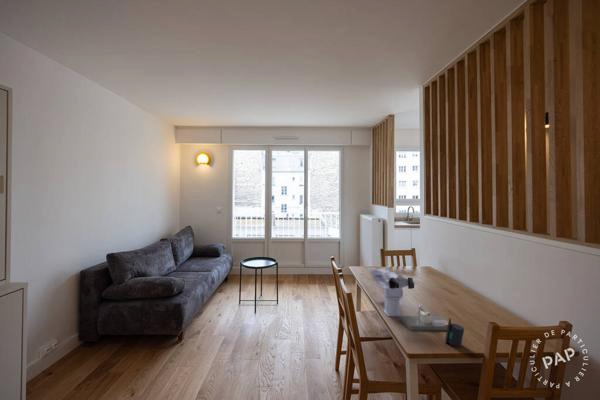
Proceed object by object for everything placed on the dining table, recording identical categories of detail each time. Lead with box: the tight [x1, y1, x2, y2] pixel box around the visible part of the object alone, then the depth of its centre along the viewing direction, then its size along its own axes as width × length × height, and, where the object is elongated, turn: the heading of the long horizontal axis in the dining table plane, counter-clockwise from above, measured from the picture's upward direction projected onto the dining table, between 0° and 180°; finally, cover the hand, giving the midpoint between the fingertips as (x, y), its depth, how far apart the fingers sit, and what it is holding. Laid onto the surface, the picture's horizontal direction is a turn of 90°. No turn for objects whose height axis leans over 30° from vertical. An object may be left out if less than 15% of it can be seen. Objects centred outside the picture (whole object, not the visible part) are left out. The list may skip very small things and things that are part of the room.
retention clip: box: [417, 304, 431, 317], centre depth 157 cm, size 12×2×6 cm, turn 1°
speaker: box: [445, 317, 465, 348], centre depth 137 cm, size 8×6×10 cm
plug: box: [420, 311, 432, 324], centre depth 156 cm, size 4×4×6 cm
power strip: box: [400, 315, 449, 331], centre depth 157 cm, size 13×22×3 cm, turn 91°
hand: (405, 286), depth 151 cm, fingers open, 7 cm apart
